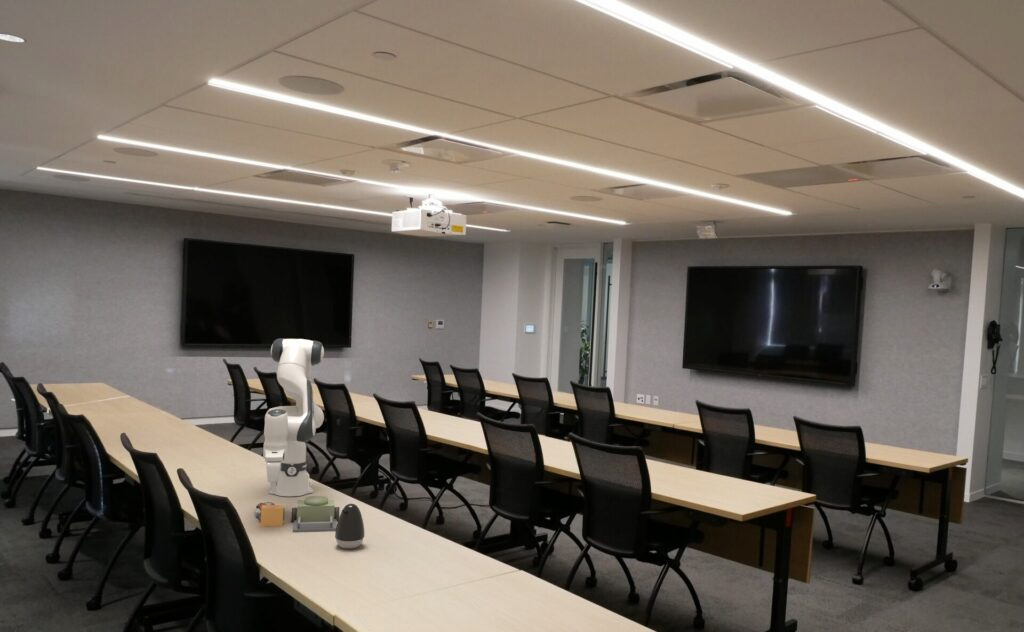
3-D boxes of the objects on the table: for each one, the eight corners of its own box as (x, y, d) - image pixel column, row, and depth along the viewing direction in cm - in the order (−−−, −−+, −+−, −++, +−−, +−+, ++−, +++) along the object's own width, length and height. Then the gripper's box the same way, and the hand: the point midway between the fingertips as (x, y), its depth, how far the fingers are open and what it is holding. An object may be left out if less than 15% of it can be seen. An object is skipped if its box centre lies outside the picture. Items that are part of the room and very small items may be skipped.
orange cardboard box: (261, 523, 278) (262, 505, 278) (284, 522, 280) (284, 504, 280) (260, 526, 273) (261, 508, 273) (283, 526, 275) (284, 507, 275)
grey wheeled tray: (292, 517, 286) (293, 496, 286) (338, 516, 291) (339, 495, 291) (289, 532, 268) (290, 509, 268) (339, 530, 273) (340, 508, 272)
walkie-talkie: (251, 510, 295) (258, 524, 278) (251, 499, 295) (258, 512, 278) (273, 508, 299) (281, 522, 282) (273, 497, 299) (282, 510, 282)
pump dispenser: (328, 548, 252) (330, 505, 252) (344, 540, 262) (346, 498, 262) (353, 553, 249) (355, 509, 249) (369, 544, 259) (371, 502, 258)
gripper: (268, 448, 285) (267, 483, 285) (264, 457, 266) (263, 495, 266) (285, 447, 287) (283, 482, 287) (282, 457, 267) (281, 495, 267)
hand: (273, 489), depth 276 cm, fingers open, 8 cm apart
